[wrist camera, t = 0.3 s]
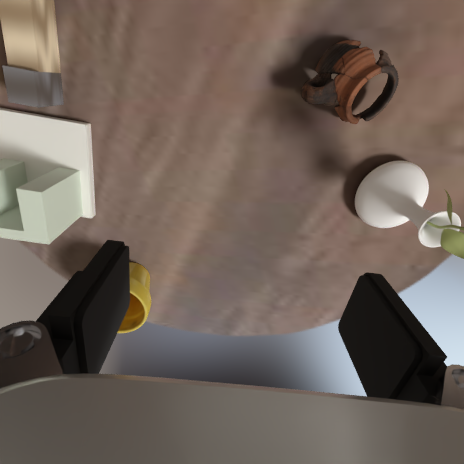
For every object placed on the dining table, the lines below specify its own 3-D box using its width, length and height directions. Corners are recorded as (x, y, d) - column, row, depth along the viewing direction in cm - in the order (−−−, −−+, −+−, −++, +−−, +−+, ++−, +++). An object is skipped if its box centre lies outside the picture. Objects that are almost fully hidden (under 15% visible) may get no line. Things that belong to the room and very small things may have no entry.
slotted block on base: (-9, 106, 41) (-89, 113, 31) (90, 123, 42) (45, 136, 32) (10, 201, 48) (-50, 233, 38) (95, 214, 49) (60, 248, 39)
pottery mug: (370, 24, 37) (417, 45, 32) (355, 94, 45) (391, 120, 40) (287, 52, 36) (323, 79, 31) (286, 119, 44) (315, 149, 39)
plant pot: (133, 243, 52) (114, 275, 43) (170, 280, 56) (159, 317, 47) (94, 270, 54) (68, 305, 46) (132, 304, 58) (115, 342, 50)
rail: (18, -48, 33) (-22, -74, 28) (50, -42, 34) (16, -65, 28) (37, 99, 41) (8, 102, 35) (63, 104, 41) (38, 107, 36)
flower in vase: (418, 215, 49) (572, 322, 27) (352, 228, 51) (447, 342, 28) (424, 139, 44) (626, 197, 21) (349, 157, 45) (466, 228, 22)
